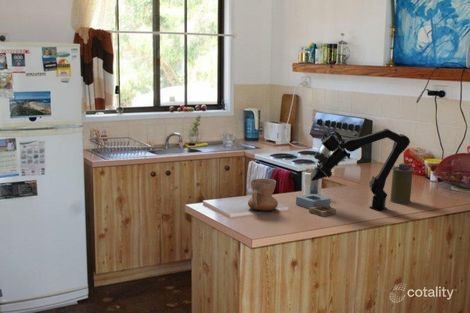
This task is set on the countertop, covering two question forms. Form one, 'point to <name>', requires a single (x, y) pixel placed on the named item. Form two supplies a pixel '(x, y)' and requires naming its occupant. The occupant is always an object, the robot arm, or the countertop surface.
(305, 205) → the slate-blue hub block
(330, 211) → the square wooden frame
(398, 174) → the canister
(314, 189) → the cylinder
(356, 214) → the countertop surface
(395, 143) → the robot arm
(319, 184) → the off-white rectangular block
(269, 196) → the ceramic jug
